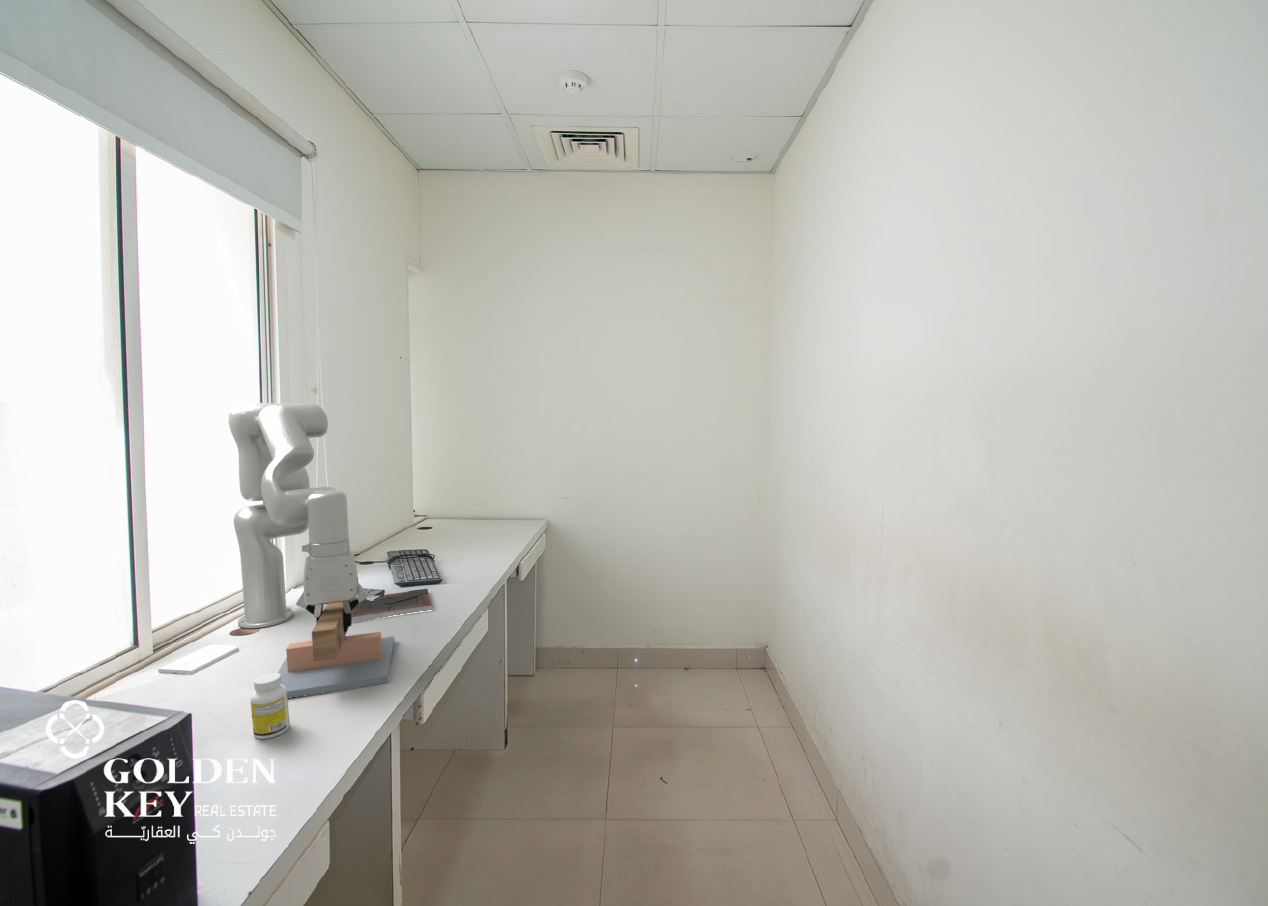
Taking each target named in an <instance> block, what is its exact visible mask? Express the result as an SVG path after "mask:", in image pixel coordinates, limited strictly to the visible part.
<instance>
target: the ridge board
mask: <svg viewBox="0 0 1268 906" xmlns="http://www.w3.org/2000/svg"><path fill="white" fill-rule="evenodd" d="M395 639H396V638H395V636H385V637H382V631H375V632H369V633H361V634H360V633H359V634H353V635H345V638H344V640H343V643H342V645H341V648H340V650H339V653H338V655H337V658H335V659H328V660H321V661H314V659H313V643H312V640H309V641H307V640H306V641H302V642H301V641H299V642H294V643H292V642H291V643H289V645H287V648H286V658H285V660H284V661H283V663H282V664H281V667H280V668H279V670H278V671H277V673H279V674H280V675H281V685H284V686H285V687H286V689H287V697H288V698H290V697H296V698H298V697H297V696H302V697H305V696H304V695H308V696H313V695H312V694H315V695H319V694H318V693H321V694H323V693H322V692H327V693H333V692H337V691H344V690H345V691H346V690H352V689H357V688H363V687H368V686H375V685H382V684H388V683H389V678H390V671H391V667H390V666H391V665H392V659H393V654H394V649H395V643H396V641H395ZM394 642H395V643H394ZM393 648H394V649H393ZM290 699H291V698H290Z"/></svg>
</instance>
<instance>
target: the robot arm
mask: <svg viewBox="0 0 1268 906" xmlns="http://www.w3.org/2000/svg"><path fill="white" fill-rule="evenodd" d="M328 420H329V419H328V417H327V414H326V413H325V411H324V410H323V408H322V407H321V406H319V405H317V404H315V403H302V402H301V403H300V402H298V403H297V402H294V403H293V402H291V403H290V402H285V403H284V402H279V403H278V402H253V403H252V402H251V403H250V402H249V403H242V404H238V405H235V406H233V407H232V408H231V409H230V411H229V414H228V426H229V430H230V433H231V436H232V437H233V440H234V442H235V444H236V447H237V453H238V480H239V481H238V482H239V489H240V490H239V491H240V495H241V496H242V498H243V499H244V500H247V501H250V502H251V501H252V502H260V501H261V502H262V501H263V504H255V505H249V506H246V507H243V508H241V509H240V510H238V511H237V512H236V513H235V514H234V517H233V527H234V531H235V535H236V538H237V539H236V540H237V543H238V547H239V557H240V567H241V569H240V570H241V583H242V595H243V596H242V597H243V610H244V612H243V613H244V615H242V617H240V618H239V619H238V621H237V625H238V627H240V628H243V629H259V628H265V627H271V626H275V625H279V624H281V623H284V622H286V621H288V620H290V619H291V618H292V617H294V610H293V609H291V608H289V607H288V608H287V596H286V582H285V567H284V556H283V552H282V550H281V549H280V548H279V547H277V545H275V544H274V543H273V542H272V540H273V539H277V538H285V537H289V536H295V535H301V534H303V533H305V532H307V530H308V540H309V542H308V543H307V544H306V545H302V546H301V552H302V553H304V552H306V553H308V556H307V557H306V558H305V562H304V571H303V591H302V593H301V595H300V596H299V598H298V599H297V602H296V603H295V604H296V606H297V607H300V608H302V609H305V610H306V611H307V612H309V613H310V614H311V615H312V616H314V618H315V623H317V622H318V620H319V618H320V616H321V614H322V613H323V611H324V605H325V604H326V605H327V604H328V603H336V602H342V603H343V607H344V614H343V624H344V632H347V633H348V630H349V627H352V624H353V623H352V622H351V611H352V610H353V609H354V608H355V607H356V606H357V604H358V603H360V602H361V601H363V600H364V599H366V598H367V597H369V595H368V594H369V593H368V592H367V591H366V590H365V588H364V587H363V586H362V585H361V584H360V583H359V575H358V569H357V564H356V563H357V562H356V559H355V555H354V552H353V551H351V550H350V548H351V547H350V535H349V533H350V532H349V516H348V513H349V512H348V499H347V495H346V493H345V492H343V491H341V490H337V489H336V488H334V487H331V486H321V487H320V486H319V487H310V485H311V484H310V477H309V474H308V470H307V468H305V467H307V466H308V465H309V464H310V463H312V461H313V459H314V457H315V450H314V448H313V445H312V443H311V440H310V439H311V438H312V439H313V438H314V439H315V438H322V437H323V436H325V435H326V433H327V431H328V428H329V421H328ZM351 600H352V602H351Z"/></svg>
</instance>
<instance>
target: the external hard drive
mask: <svg viewBox="0 0 1268 906" xmlns="http://www.w3.org/2000/svg"><path fill="white" fill-rule="evenodd" d="M238 650H240V648H239V646H237V645H221V644H220V645H219V644H218V645H217V644H209V645H207V646H204V647H203V648H200V649H198V650H197V651H194V652H192V653H190V654H188V655H185V656H183V657H182V658H178V659H177V660H175V661H173V662H171V663H169V664H166V665H165V666H163V667H162V666H161V668H159V669H158V670H157V671H158V672H162V673H161V674H170V673H172V674H177V673H178V674H177V675H186V674H192V675H194V674H196V673H198V672H199V671H201V670H203V669H205V668H207V667H209V666H210V664H211V665H213V664H215V663H217V662H220V661H221V660H223V659H226V658H227V657H229V656H230V655H233V654H234V652H235V653H237V652H239V651H238ZM236 651H237V652H236ZM232 653H233V654H232ZM212 663H213V664H212ZM208 665H209V666H208ZM206 666H207V667H206ZM204 667H205V668H204Z"/></svg>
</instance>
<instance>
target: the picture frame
mask: <svg viewBox="0 0 1268 906" xmlns="http://www.w3.org/2000/svg"><path fill="white" fill-rule="evenodd" d="M382 595H383V597H382V598H381V599H379V600H377V601H369V600H367V599H364V600H363V601H361V602H360V603H358V604H357V606H356V607H355V608H354V609H353V610H352V614H353V617H352V620H351V622H352V624H356V623H357V624H358V623H364V621H365V622H369V621H368V620H371V621H375V620H374V619H377V618H383V617H388V616H393V615H400V614H407V613H413V612H419V611H427V610H432V611H433V603H432V599H431V598H430V593H429V589H428V588H421V589H413V590H408V591H404V592H395V593H388V594H382Z"/></svg>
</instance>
